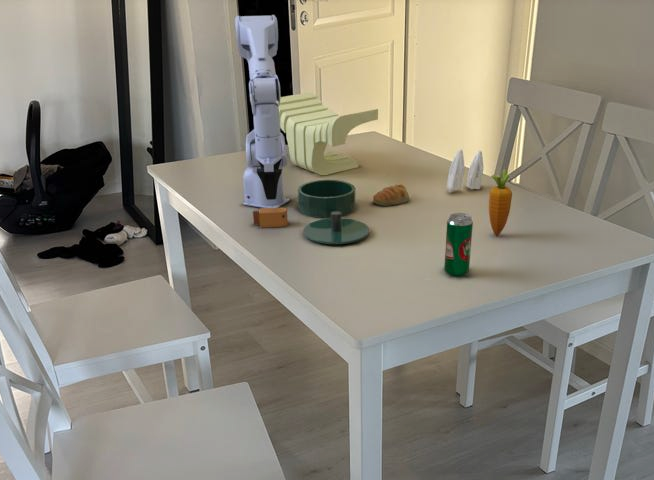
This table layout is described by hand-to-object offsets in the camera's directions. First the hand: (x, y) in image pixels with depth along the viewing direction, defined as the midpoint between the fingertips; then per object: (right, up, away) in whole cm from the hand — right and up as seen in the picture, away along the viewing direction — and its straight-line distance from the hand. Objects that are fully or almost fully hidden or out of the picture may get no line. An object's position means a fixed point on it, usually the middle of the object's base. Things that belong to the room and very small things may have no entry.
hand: (271, 193), depth 172 cm
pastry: (+29, +2, +18) cm, 34 cm away
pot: (+12, 0, +14) cm, 19 cm away
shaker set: (+48, +6, +25) cm, 55 cm away
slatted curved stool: (+10, +18, +44) cm, 49 cm away
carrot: (+52, -11, -3) cm, 53 cm away
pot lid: (+15, -9, -2) cm, 18 cm away
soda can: (+40, -21, -20) cm, 49 cm away
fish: (-1, -6, +4) cm, 8 cm away
